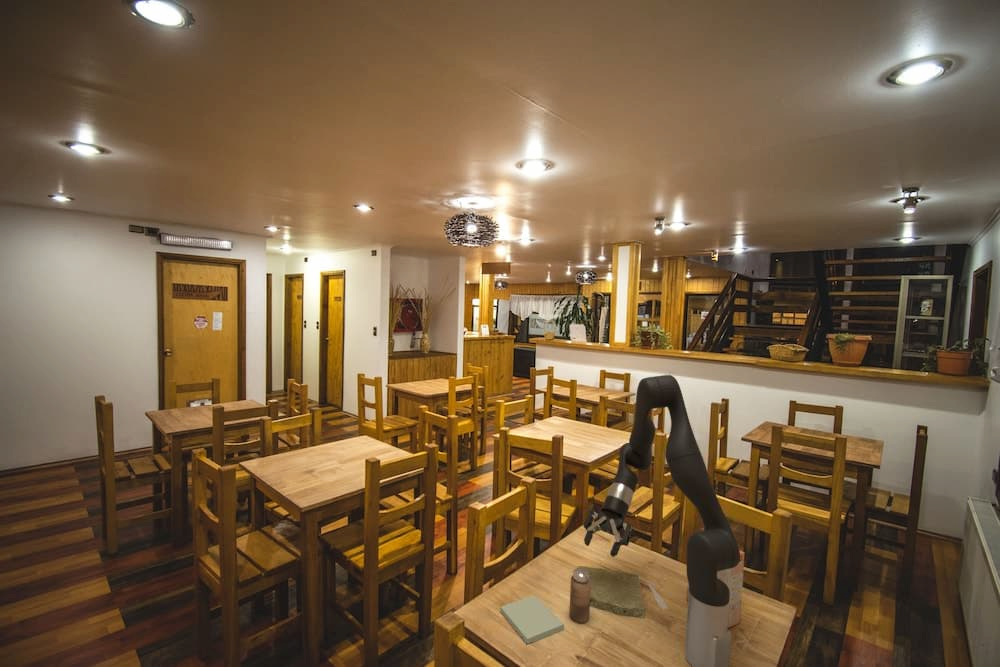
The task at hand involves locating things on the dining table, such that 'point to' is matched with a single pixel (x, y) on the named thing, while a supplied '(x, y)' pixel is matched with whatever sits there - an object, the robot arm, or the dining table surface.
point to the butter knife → (657, 597)
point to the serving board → (531, 619)
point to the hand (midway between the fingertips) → (599, 550)
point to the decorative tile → (615, 592)
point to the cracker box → (732, 589)
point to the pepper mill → (580, 596)
